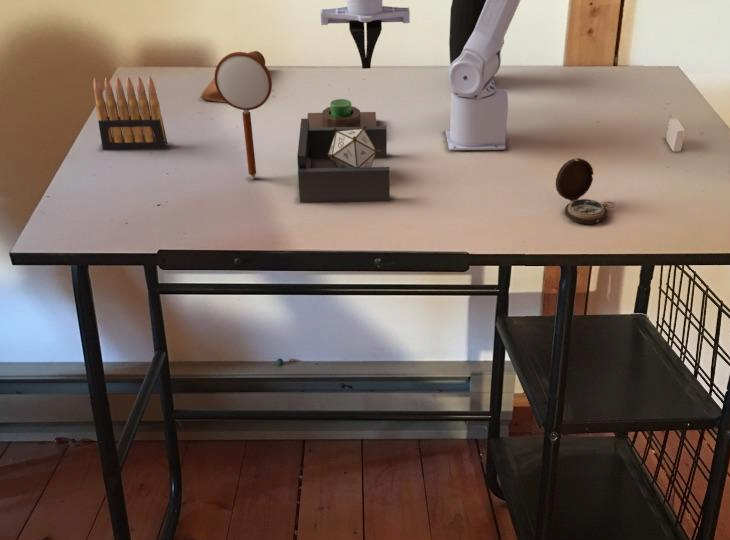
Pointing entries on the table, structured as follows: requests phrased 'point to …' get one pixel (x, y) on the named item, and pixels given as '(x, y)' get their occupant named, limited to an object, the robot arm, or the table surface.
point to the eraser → (675, 135)
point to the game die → (351, 149)
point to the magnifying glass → (244, 91)
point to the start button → (341, 108)
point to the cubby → (340, 180)
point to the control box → (342, 119)
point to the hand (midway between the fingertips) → (366, 66)
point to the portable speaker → (462, 24)
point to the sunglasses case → (210, 90)
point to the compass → (579, 192)
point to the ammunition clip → (129, 117)
